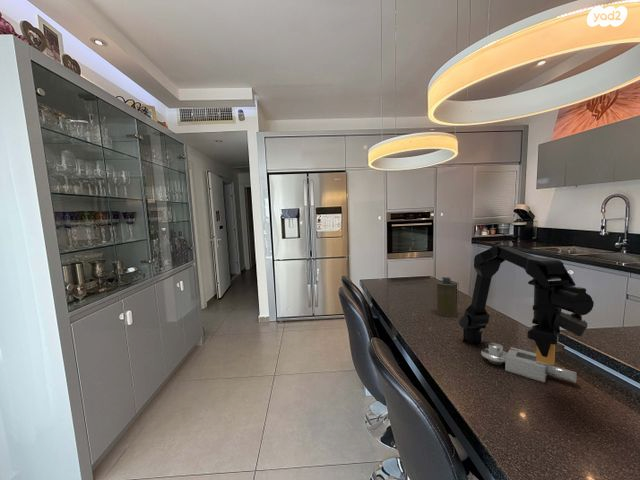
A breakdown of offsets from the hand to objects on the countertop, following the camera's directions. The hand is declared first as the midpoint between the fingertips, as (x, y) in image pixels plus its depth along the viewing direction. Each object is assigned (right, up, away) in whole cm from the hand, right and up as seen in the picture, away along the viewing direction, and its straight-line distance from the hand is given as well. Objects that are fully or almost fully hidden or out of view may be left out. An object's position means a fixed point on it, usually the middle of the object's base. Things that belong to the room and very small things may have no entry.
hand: (545, 354), depth 79 cm
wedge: (0, -2, 0) cm, 2 cm away
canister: (+4, -7, +68) cm, 69 cm away
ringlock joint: (+4, -11, +12) cm, 17 cm away
